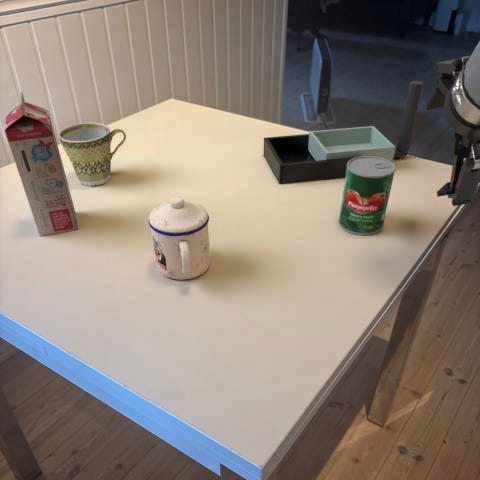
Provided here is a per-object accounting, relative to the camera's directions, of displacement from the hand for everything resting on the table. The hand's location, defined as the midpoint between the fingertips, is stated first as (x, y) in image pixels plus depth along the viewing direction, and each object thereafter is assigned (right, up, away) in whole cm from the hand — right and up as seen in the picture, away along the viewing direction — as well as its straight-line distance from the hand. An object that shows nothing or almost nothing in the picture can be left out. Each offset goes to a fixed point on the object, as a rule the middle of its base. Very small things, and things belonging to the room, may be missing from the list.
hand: (440, 149), depth 76 cm
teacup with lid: (-40, -19, +2) cm, 45 cm away
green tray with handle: (-5, +9, +31) cm, 33 cm away
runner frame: (-16, +7, +30) cm, 35 cm away
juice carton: (-65, -9, +13) cm, 67 cm away
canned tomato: (-10, -9, +12) cm, 18 cm away
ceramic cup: (-61, +3, +27) cm, 67 cm away
